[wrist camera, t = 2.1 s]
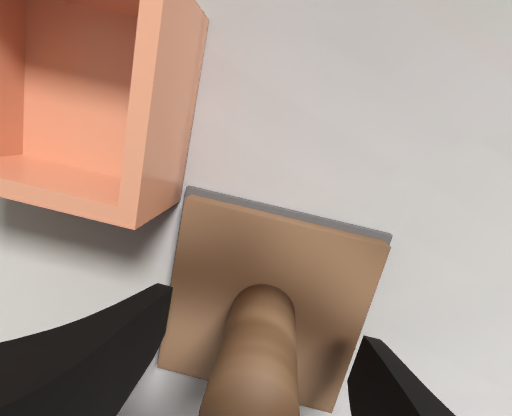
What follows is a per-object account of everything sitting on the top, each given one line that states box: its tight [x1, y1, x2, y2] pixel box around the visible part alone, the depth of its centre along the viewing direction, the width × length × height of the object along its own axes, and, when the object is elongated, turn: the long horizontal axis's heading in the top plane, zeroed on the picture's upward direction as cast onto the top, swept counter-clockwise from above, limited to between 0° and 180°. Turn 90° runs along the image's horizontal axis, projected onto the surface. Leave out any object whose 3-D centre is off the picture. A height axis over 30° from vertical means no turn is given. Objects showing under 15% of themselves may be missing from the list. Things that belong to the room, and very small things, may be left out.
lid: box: [157, 194, 391, 416], centre depth 11 cm, size 8×8×6 cm
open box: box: [0, 0, 209, 230], centre depth 10 cm, size 7×7×4 cm
